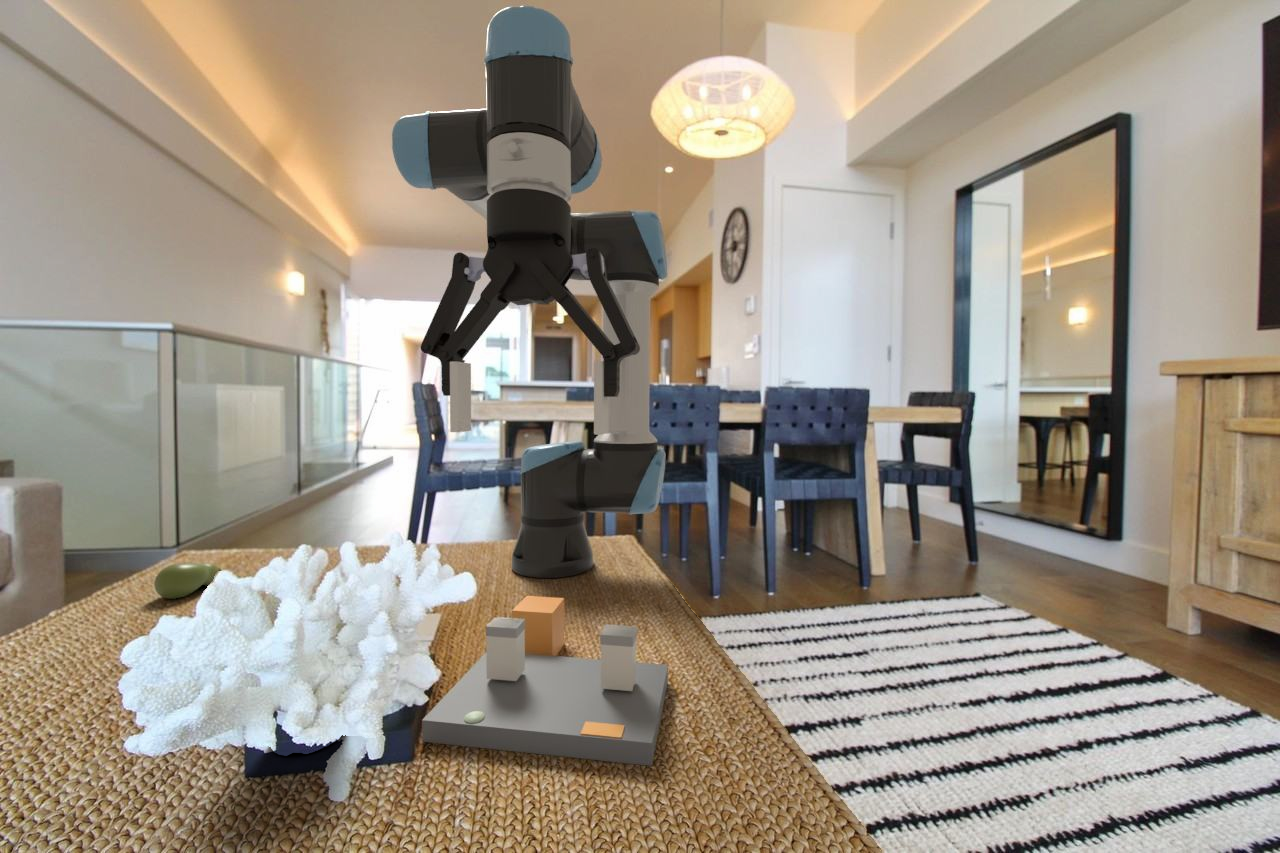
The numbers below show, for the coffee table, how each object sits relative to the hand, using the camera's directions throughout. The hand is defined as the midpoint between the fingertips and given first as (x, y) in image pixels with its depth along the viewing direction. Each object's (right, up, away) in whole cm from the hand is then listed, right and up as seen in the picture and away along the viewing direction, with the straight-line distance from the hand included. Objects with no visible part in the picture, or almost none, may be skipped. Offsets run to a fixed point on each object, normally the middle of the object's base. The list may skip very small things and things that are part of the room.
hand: (529, 433), depth 51 cm
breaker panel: (+2, -28, +4) cm, 28 cm away
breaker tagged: (+8, -26, +5) cm, 27 cm away
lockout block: (-2, -27, +17) cm, 32 cm away
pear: (-62, -26, +37) cm, 77 cm away
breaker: (-4, -26, +6) cm, 27 cm away
